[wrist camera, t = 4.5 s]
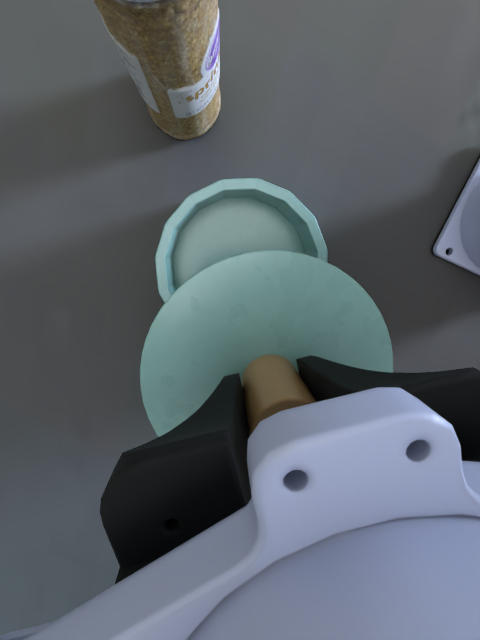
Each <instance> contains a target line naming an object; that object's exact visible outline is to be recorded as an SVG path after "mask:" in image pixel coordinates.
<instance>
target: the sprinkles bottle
mask: <svg viewBox="0 0 480 640" xmlns="http://www.w3.org/2000/svg"><path fill="white" fill-rule="evenodd" d="M94 1H95V4H96V6H97V7H98V9H99V11H100V14H101V17H102V20H103V22H104V24H105V26H106V28H107V30H108V32H109V34H110V36H111V38H112V40H113V42H114V44H115V46H116V48H117V50H118V52H119V54H120V56H121V58H122V60H123V62H124V64H125V66H126V68H127V70H128V71H129V73H130V75H131V77H132V79H133V81H134V83H135V85H136V87H137V89H138V91H139V92H140V94H141V96H142V98H143V99H144V101H145V102H146V104H147V108H148V111H149V113H150V115H151V117H152V119H153V121H154V122H155V124H156V125H157V126H158V127H159V128H160V129H162V131H163V132H165V133H167V134H169V135H170V136H172V137H174V138H176V139H183V140H187V139H192V138H196V137H199V136H201V135H202V134H204V133H206V132H207V131H208V130H209V129H210V128H211V127H212V125H213V123H214V122H215V120H216V119H217V117H218V114H219V110H220V105H221V95H220V89H219V75H220V47H219V9H218V0H94Z"/></svg>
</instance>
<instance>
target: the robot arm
mask: <svg viewBox="0 0 480 640" xmlns="http://www.w3.org/2000/svg"><path fill="white" fill-rule="evenodd" d="M447 248H448V249H449V253H448V254H447V255H446V250H447ZM433 252H434V254H435V255H436V256H438V257H440V258H443V259H445V260H447V261H449V262H451V263H453V264H455V265H458V266H460V267H462V268H464V269H466V270H468V271H470V272H473V273H475V274H477V275H479V276H480V158H479V160H478V162H477V164H476V166H475V168H474V170H473V172H472V174H471V176H470V178H469V179H468V181H467V183H466V185H465V187H464V189H463V191H462V193H461V195H460V197H459V199H458V201H457V203H456V204H455V206H454V208H453V210H452V212H451V214H450V216H449V218H448V220H447V222H446V224H445V226H444V227H443V229H442V231H441V233H440V235H439V237H438V239H437V241H436V243H435V245H434V247H433ZM296 362H297V367H298V372H299V375H300V376H301V378H302V380H303V381H304V383H305V384H306V386H307V388H308V389H309V391H310V392H311V394H312V395H313V397H314V399H315V400H316V402H315V403H311V404H307V405H303V406H299V407H295V408H291V409H286V410H282V411H280V412H278V413H276V414H274V415H272V416H270V417H268V418H266V419H264V420H262V421H260V423H259V424H258V426H257V427H256V428H255V430H254V431H253V433H252V434H251V436H250V433H249V427H248V421H247V415H246V408H245V399H244V393H243V388H242V384H241V380H240V376H239V373H236V374H232V375H227V376H224V377H223V379H222V380H221V381H220V383H219V384H218V386H217V387H216V389H215V390H214V391H213V393H212V394H211V395H210V396H209V398H208V399H207V400H206V401H205V402H204V403H203V405H202V406H201V407H200V408H199V409H198V410H197V411H196V412H195V413H193V414H192V415H191V416H190V417H189V418H188V419H186V420H185V421H183V422H182V423H181V424H179V425H178V426H176V427H175V428H173V429H172V430H170V431H169V432H167V433H165V434H164V435H162V436H160V437H158V438H156V439H154V440H152V441H150V442H148V443H146V444H143V445H141V446H138V447H136V448H134V449H131V450H129V451H126V452H123V453H122V455H121V457H120V459H119V460H118V462H117V464H116V466H115V469H114V471H113V473H112V475H111V477H110V479H109V482H108V484H107V486H106V488H105V491H104V493H103V495H102V498H101V506H100V514H101V518H102V523H103V526H104V528H105V531H106V533H107V536H108V538H109V541H110V543H111V546H112V548H113V550H114V553H115V555H116V558H117V560H118V563H119V565H120V569H119V572H118V576H117V579H116V582H115V585H113V586H112V587H110V588H108V589H107V590H105V591H103V592H102V593H100V594H98V595H97V596H95V597H93V598H92V599H90V600H88V601H87V602H85V603H83V604H82V605H80V606H78V607H77V608H75V609H73V610H72V611H70V612H68V613H67V614H65V615H63V616H62V617H60V618H58V619H57V620H55V621H53V622H50V623H46V624H42V625H38V626H34V627H30V628H26V629H22V630H18V631H14V632H10V633H5V634H1V635H0V640H480V371H479V370H477V369H475V368H473V367H472V368H464V369H456V370H449V371H441V372H425V373H392V372H380V371H372V370H365V369H360V368H356V367H351V366H347V365H343V364H340V363H336V362H333V361H330V360H327V359H323V358H320V357H317V356H312V355H310V356H306V357H302V358H298V359H296Z"/></svg>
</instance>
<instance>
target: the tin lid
mask: <svg viewBox="0 0 480 640" xmlns="http://www.w3.org/2000/svg"><path fill="white" fill-rule="evenodd" d="M310 355H312V356H317V357H320V358H323V359H327V360H330V361H333V362H336V363H340V364H343V365H347V366H351V367H356V368H360V369H365V370H372V371H380V372H392V373H393V353H392V345H391V340H390V337H389V333H388V329H387V326H386V324H385V322H384V319H383V317H382V315H381V313H380V311H379V309H378V308H377V306H376V304H375V303H374V301H373V300H372V298H371V297H370V296H369V295H368V294H367V292H366V291H365V290H364V289H363V288H362V286H360V285H359V284H358V283H357V282H356V281H355V280H354V279H353V278H351V277H350V276H349V275H348V274H346V273H345V272H343V271H342V270H340V269H339V268H337V267H336V266H334V265H331V264H329V263H327V262H325V261H323V260H321V259H318V258H315V257H312V256H309V255H306V254H302V253H296V252H290V251H280V250H262V251H252V252H246V253H242V254H238V255H234V256H230V257H228V258H225V259H222V260H220V261H217V262H215V263H213V264H211V265H209V266H207V267H206V268H204V269H202V270H200V271H199V272H197V273H196V274H195V275H193V276H192V277H191V278H189V279H188V280H186V281H185V282H184V283H183V284H182V285H181V286H180V287H179V288H178V289H177V290H176V291H175V292H174V293H173V294H172V295H171V296H170V297H169V299H168V300H167V301H166V302H165V304H164V305H163V306H162V308H161V309H160V311H159V312H158V314H157V316H156V317H155V319H154V321H153V323H152V325H151V327H150V330H149V332H148V335H147V337H146V340H145V344H144V348H143V352H142V356H141V365H140V388H141V393H142V399H143V404H144V407H145V410H146V412H147V415H148V418H149V420H150V422H151V424H152V426H153V428H154V430H155V432H156V434H157V435H158V437H160V436H162V435H164V434H165V433H167V432H169V431H170V430H172V429H173V428H175V427H176V426H178V425H179V424H181V423H182V422H183V421H185V420H186V419H188V418H189V417H190V416H191V415H192V414H193V413H195V412H196V411H197V410H198V409H199V408H200V407H201V406H202V405H203V403H204V402H205V401H206V400H207V399H208V398H209V396H210V395H211V394H212V393H213V391H214V390H215V389H216V387H217V386H218V384H219V383H220V381H221V380H222V379H223V377H224V376H227V375H232V374H236V373H239V376H240V380H241V384H242V388H243V393H244V399H245V408H246V415H247V421H248V427H249V433H250V436H251V434H252V433H253V431H254V430H255V428H256V427H257V426H258V424H259V423H260V421H262V420H264V419H266V418H268V417H270V416H272V415H274V414H276V413H278V412H280V411H282V410H286V409H291V408H295V407H299V406H303V405H307V404H311V403H315V402H316V400H315V399H314V397H313V395H312V394H311V392H310V391H309V389H308V388H307V386H306V384H305V383H304V381H303V380H302V378H301V376H300V375H299V372H298V367H297V362H296V359H298V358H302V357H306V356H310Z"/></svg>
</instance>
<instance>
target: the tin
mask: <svg viewBox="0 0 480 640" xmlns="http://www.w3.org/2000/svg"><path fill="white" fill-rule="evenodd" d="M262 250H280V251H290V252H296V253H302V254H306V255H309V256H312V257H315V258H318V259H321V260H323V261H325V262H327V252H328V250H327V247H326V244H325V242H324V239H323V236H322V234H321V231H320V229H319V226H318V223H317V221H316V218H315V217H314V215H313V214H312V213H311V212H310V211H309V210H308V209H307V208H306V207H305V206H304V205H303V204H302V203H301V202H300V201H299V200H298V199H297V198H296V197H295V196H294V195H293V194H292V193H291V192H290V191H288V190H286V189H283V188H281V187H278V186H276V185H273V184H271V183H269V182H266V181H264V180H261V179H259V178H242V179H222V180H218V181H216V182H214V183H212V184H210V185H208V186H206V187H204V188H202V189H200V190H198V191H196V192H194V193H192V194H190V195H189V196H187V198H186V199H185V200H184V201H183V202H182V203H181V205H180V206H179V207H178V208H177V209H176V211H175V212H174V213H173V214H172V215H171V216H170V218H169V219H168V220H167V221H166V223H165V225H164V228H163V231H162V235H161V238H160V241H159V245H158V248H157V251H156V254H155V265H156V275H157V285H158V291H159V294H160V296H161V298H162V300H163V302H164V304H165V302H166V301H167V300H168V299H169V297H170V296H171V295H172V294H173V293H174V292H175V291H176V290H177V289H178V288H179V287H180V286H181V285H182V284H183V283H184V282H185V281H186V280H188V279H189V278H191V277H192V276H193V275H195V274H196V273H197V272H199V271H200V270H202V269H204V268H206V267H207V266H209V265H211V264H213V263H215V262H217V261H220V260H222V259H225V258H228V257H230V256H234V255H238V254H242V253H246V252H252V251H262Z"/></svg>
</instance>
